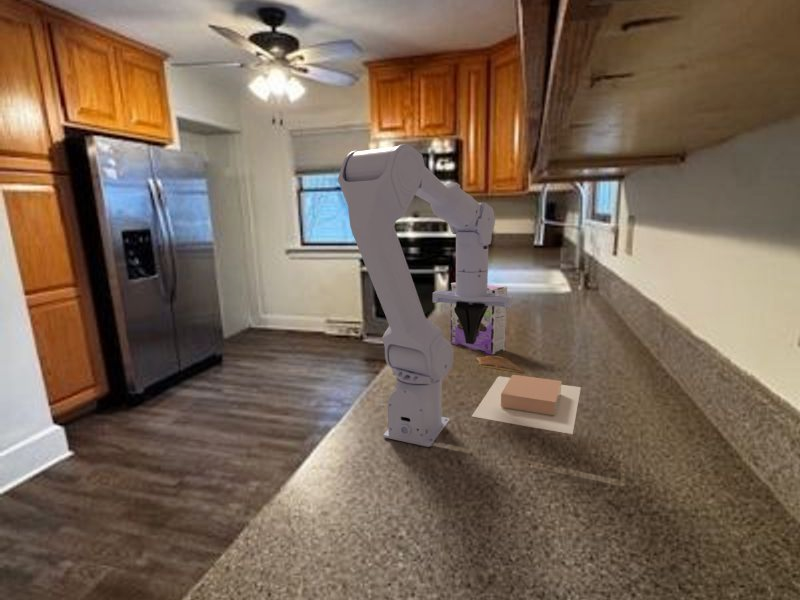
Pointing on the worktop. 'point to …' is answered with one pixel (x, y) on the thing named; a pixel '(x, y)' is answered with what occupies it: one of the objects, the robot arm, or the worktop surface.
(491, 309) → the candy box
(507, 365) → the shard
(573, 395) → the cutting board
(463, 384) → the worktop surface
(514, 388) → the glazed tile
